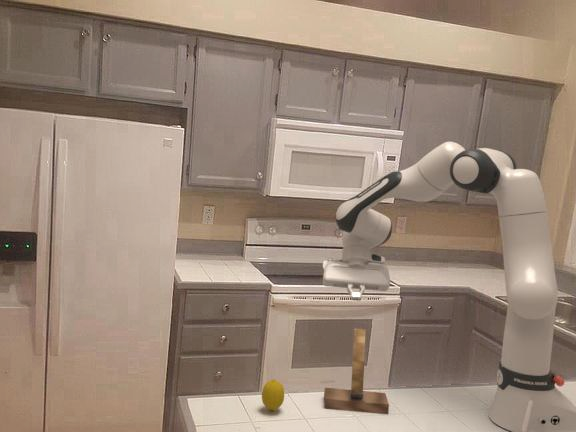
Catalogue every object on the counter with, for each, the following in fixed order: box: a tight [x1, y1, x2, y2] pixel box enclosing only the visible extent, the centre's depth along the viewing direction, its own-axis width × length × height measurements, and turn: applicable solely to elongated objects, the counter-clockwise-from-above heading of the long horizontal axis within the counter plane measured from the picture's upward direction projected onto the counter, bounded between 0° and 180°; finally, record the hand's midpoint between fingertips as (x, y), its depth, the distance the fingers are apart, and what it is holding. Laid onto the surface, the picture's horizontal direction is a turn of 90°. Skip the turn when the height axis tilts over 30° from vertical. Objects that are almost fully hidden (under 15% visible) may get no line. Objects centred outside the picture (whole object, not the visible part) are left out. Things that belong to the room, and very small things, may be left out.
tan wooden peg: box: [350, 328, 367, 398], centre depth 135 cm, size 3×3×17 cm
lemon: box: [261, 378, 285, 412], centre depth 128 cm, size 6×6×8 cm
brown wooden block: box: [323, 387, 390, 415], centre depth 135 cm, size 16×7×3 cm, turn 87°
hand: (355, 299), depth 154 cm, fingers closed
